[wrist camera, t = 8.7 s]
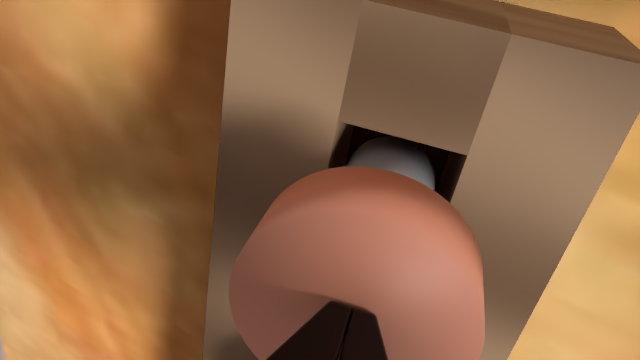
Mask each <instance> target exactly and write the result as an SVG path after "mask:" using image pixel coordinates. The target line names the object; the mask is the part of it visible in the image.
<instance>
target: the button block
mask: <svg viewBox="0 0 640 360" xmlns="http://www.w3.org/2000/svg"><path fill="white" fill-rule="evenodd" d="M639 112H640V50H639V49H638V48H637V47H636V46H635V45H634V44H632V43H631V42H630V41H629V40H628V39H627V38H626V37H624V36H623V35H622V34H621V33H620V32H619V31H617V30H616V29H615V28H614V27H610V26H605V25H601V24H596V23H592V22H587V21H583V20H579V19H574V18H570V17H565V16H561V15H556V14H552V13H548V12H543V11H539V10H534V9H530V8H525V7H521V6H516V5H512V4H508V3H503V2H499V1H494V0H231V6H230V18H229V31H228V43H227V56H226V68H225V81H224V93H223V106H222V118H221V131H220V143H219V156H218V168H217V181H216V193H215V206H214V218H213V231H212V243H211V256H210V268H209V281H208V293H207V306H206V318H205V331H204V343H203V356H202V360H259V359H258V358H257V357H256V356H255V355H254V354H253V352H252V351H251V350H250V349H249V347H248V346H247V345H246V343H245V341H244V340H243V338H242V336H241V335H240V333H239V331H238V329H237V327H236V324H235V322H234V319H233V316H232V312H231V309H230V303H229V280H230V275H231V271H232V268H233V266H234V263H235V260H236V259H237V257H238V255H239V254H240V252H241V250H242V249H243V247H244V246H245V244H246V243H247V241H248V240H249V238H250V236H251V235H252V233H253V232H254V230H255V229H256V227H257V226H258V224H259V223H260V221H261V220H262V218H263V216H264V215H265V213H266V212H267V210H268V209H269V207H270V206H271V204H272V203H273V202H274V200H275V199H276V198H277V197H278V196H279V195H280V194H281V193H282V192H283V191H284V190H285V189H286V188H288V187H289V186H290V185H292V184H293V183H295V182H296V181H298V180H300V179H301V178H303V177H306V176H308V175H310V174H313V173H315V172H319V171H322V170H326V169H330V168H337V167H345V166H347V165H348V163H346V159H347V154H348V150H349V146H350V141H351V137H352V132H353V128H354V125H355V126H359V127H362V128H366V129H370V130H374V131H377V132H381V133H385V134H389V135H392V136H396V137H400V138H404V139H407V140H411V141H415V142H419V143H422V144H426V145H430V146H434V147H437V148H441V149H445V150H449V151H450V153H449V156H448V159H447V162H446V165H445V167H444V170H443V173H442V176H441V179H440V182H439V185H438V188H435V190H434V191H435V192H437V193H438V194H439V195H441V196H442V197H443V198H444V199H446V200H447V201H448V202H449V203H450V204H451V205H452V206H453V207H454V208H455V209H456V210H457V211H458V212H459V213H460V214H461V216H462V217H463V218H464V220H465V221H466V223H467V224H468V225H469V227H470V229H471V231H472V233H473V234H474V236H475V238H476V241H477V244H478V247H479V249H480V253H481V258H482V264H483V287H484V312H485V341H484V346H483V351H482V354H481V356H480V359H479V360H507V358H508V357H509V355H510V353H511V351H512V349H513V347H514V345H515V344H516V342H517V340H518V338H519V336H520V334H521V332H522V330H523V329H524V327H525V325H526V323H527V321H528V319H529V317H530V316H531V314H532V312H533V310H534V308H535V306H536V304H537V302H538V301H539V299H540V297H541V295H542V293H543V291H544V289H545V288H546V286H547V284H548V282H549V280H550V278H551V276H552V274H553V273H554V271H555V269H556V267H557V265H558V263H559V261H560V260H561V258H562V256H563V254H564V252H565V250H566V248H567V246H568V245H569V243H570V241H571V239H572V237H573V235H574V233H575V232H576V230H577V228H578V226H579V224H580V222H581V220H582V218H583V217H584V215H585V213H586V211H587V209H588V207H589V205H590V204H591V202H592V200H593V198H594V196H595V194H596V192H597V190H598V189H599V187H600V185H601V183H602V181H603V179H604V177H605V175H606V174H607V172H608V170H609V168H610V166H611V164H612V162H613V161H614V159H615V157H616V155H617V153H618V151H619V149H620V147H621V146H622V144H623V142H624V140H625V138H626V136H627V134H628V133H629V131H630V129H631V127H632V125H633V123H634V121H635V119H636V118H637V116H638V114H639Z"/></svg>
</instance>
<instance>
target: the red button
mask: <svg viewBox="0 0 640 360" xmlns="http://www.w3.org/2000/svg"><path fill="white" fill-rule="evenodd" d="M435 181H436V176H435V170H434V167H433V164H432V162H431V160H430V158H429V157H428V155H427V154H426V153H425V152H424V151H423V150H422V149H421V148H420V147H419V146H417V145H416V144H414V143H412V142H410V141H408V140H405V139H402V138H398V137H379V138H375V139H372V140H369V141H367V142H366V143H364V144H362V145H361V146H360V147H359V148H358V149H357V150H356V151H355V152H354V153H353V155H352V156H351V158H350V160H349V162H348V165H347V166H345V167H337V168H330V169H326V170H322V171H319V172H315V173H313V174H310V175H308V176H306V177H303V178H301V179H300V180H298V181H296V182H295V183H293V184H292V185H290V186H289V187H288V188H286V189H285V190H284V191H283V192H282V193H281V194H280V195H279V196H278V197H277V198H276V199H275V200H274V202H273V203H272V204H271V206H270V207H269V209H268V210H267V212H266V213H265V215H264V216H263V218H262V220H261V221H260V223H259V224H258V226H257V227H256V229H255V230H254V232H253V233H252V235H251V236H250V238H249V240H248V241H247V243H246V244H245V246H244V247H243V249H242V250H241V252H240V254H239V255H238V257H237V259H236V260H235V263H234V266H233V268H232V271H231V275H230V280H229V303H230V309H231V312H232V316H233V319H234V322H235V324H236V327H237V329H238V331H239V333H240V335H241V336H242V338H243V340H244V341H245V343H246V345H247V346H248V347H249V349H250V350H251V351H252V352H253V354H254V355H255V356H256V357H257V358H258V359H259V360H266V359H267V358H268V357H269V356H270V355H271V354H272V353H273V352H274V351H275V350H277V349H278V348H279V347H280V346H281V345H282V344H283V343H284V342H285V341H286V340H287V339H289V338H290V337H291V336H292V335H293V334H294V333H295V332H296V331H297V330H298V329H300V328H301V327H302V326H303V325H304V324H305V323H306V322H307V321H308V320H309V319H310V318H312V317H313V316H314V315H315V314H316V313H317V312H318V311H319V310H320V309H321V308H322V307H324V306H325V305H326V304H327V303H328V302H330V301H336V302H340V303H343V304H346V305H349V306H351V308H352V311H353V309H354V308H359V309H362V310H365V311H368V312H371V313H374V314H375V315H376V317H377V320H378V324H379V327H380V331H381V335H382V338H383V342H384V346H385V349H386V353H387V357H388V360H479V359H480V356H481V354H482V351H483V346H484V341H485V312H484V287H483V264H482V258H481V253H480V249H479V247H478V244H477V241H476V238H475V236H474V234H473V233H472V231H471V229H470V227H469V225H468V224H467V223H466V221H465V220H464V218H463V217H462V216H461V214H460V213H459V212H458V211H457V210H456V209H455V208H454V207H453V206H452V205H451V204H450V203H449V202H448V201H447V200H446V199H444V198H443V197H442V196H441V195H439V194H438V193H437V192H435V191H434V190H435ZM351 314H352V313H351ZM350 317H351V316H350ZM349 321H350V320H349ZM348 324H349V323H348ZM347 328H348V327H347ZM346 331H347V330H346ZM345 335H346V334H345ZM344 338H345V337H344ZM343 342H344V341H343ZM342 345H343V344H342ZM341 349H342V348H341ZM340 352H341V351H340ZM339 356H340V355H339ZM338 359H339V358H338Z"/></svg>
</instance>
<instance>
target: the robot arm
mask: <svg viewBox="0 0 640 360" xmlns="http://www.w3.org/2000/svg"><path fill="white" fill-rule="evenodd" d="M351 313H352V314H351ZM350 316H351V317H350ZM349 320H350V321H349ZM348 323H349V324H348ZM347 327H348V328H347ZM346 330H347V331H346ZM345 334H346V335H345ZM344 337H345V338H344ZM343 341H344V342H343ZM342 344H343V345H342ZM341 348H342V349H341ZM340 351H341V352H340ZM339 355H340V356H339ZM338 358H339V359H338ZM266 360H388V357H387V353H386V349H385V346H384V342H383V338H382V335H381V331H380V327H379V324H378V320H377V317H376V315H375V314H374V313H371V312H368V311H365V310H362V309H359V308H354V309H353V311H352V308H351V306H349V305H346V304H343V303H340V302H336V301H330V302H328V303H327V304H326V305H325V306H324V307H322V308H321V309H320V310H319V311H318V312H317V313H316V314H315V315H314V316H313V317H312V318H310V319H309V320H308V321H307V322H306V323H305V324H304V325H303V326H302V327H301V328H300V329H298V330H297V331H296V332H295V333H294V334H293V335H292V336H291V337H290V338H289V339H287V340H286V341H285V342H284V343H283V344H282V345H281V346H280V347H279V348H278V349H277V350H275V351H274V352H273V353H272V354H271V355H270V356H269V357H268V358H267V359H266Z"/></svg>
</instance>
